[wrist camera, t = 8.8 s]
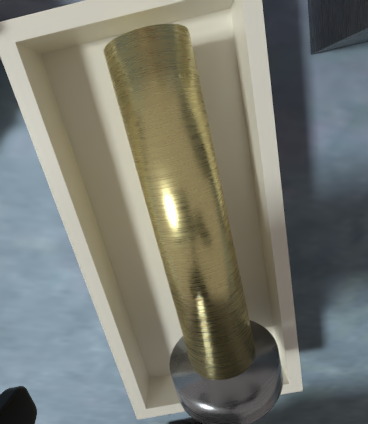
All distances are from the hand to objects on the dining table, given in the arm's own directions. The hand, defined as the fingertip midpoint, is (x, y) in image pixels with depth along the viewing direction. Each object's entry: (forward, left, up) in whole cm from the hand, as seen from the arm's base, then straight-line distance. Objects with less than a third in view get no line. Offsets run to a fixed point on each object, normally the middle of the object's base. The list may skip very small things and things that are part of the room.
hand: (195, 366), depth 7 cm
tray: (+1, 0, -7) cm, 7 cm away
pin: (+2, 0, -6) cm, 7 cm away
